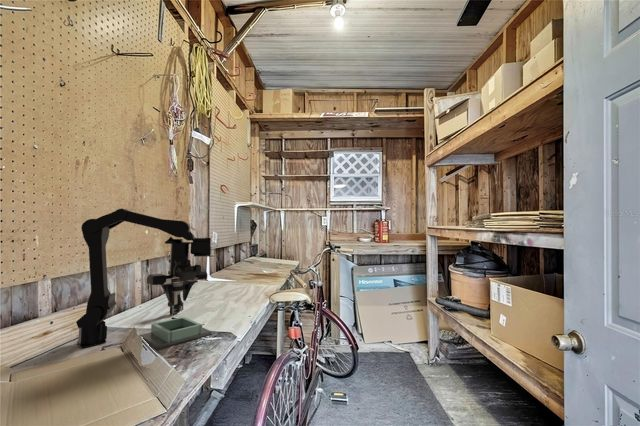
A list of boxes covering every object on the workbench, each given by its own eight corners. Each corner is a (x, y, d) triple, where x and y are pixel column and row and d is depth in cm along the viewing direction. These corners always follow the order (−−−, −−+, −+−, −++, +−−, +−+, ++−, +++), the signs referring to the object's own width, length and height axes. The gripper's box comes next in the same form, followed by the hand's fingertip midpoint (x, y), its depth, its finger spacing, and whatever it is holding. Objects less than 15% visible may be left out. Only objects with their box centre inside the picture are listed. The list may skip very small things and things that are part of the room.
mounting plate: (157, 349, 92) (157, 345, 92) (139, 337, 101) (140, 334, 101) (211, 334, 106) (211, 331, 106) (191, 325, 115) (191, 322, 115)
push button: (181, 314, 101) (181, 284, 101) (164, 315, 101) (164, 285, 101) (187, 309, 108) (187, 281, 108) (172, 309, 107) (172, 281, 108)
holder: (168, 342, 95) (168, 332, 95) (150, 332, 104) (151, 323, 104) (202, 333, 104) (202, 324, 104) (183, 325, 112) (184, 316, 113)
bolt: (182, 314, 129) (183, 279, 130) (170, 316, 126) (171, 280, 127) (176, 311, 133) (178, 277, 134) (164, 313, 130) (166, 278, 131)
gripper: (161, 260, 93) (158, 311, 92) (216, 257, 107) (214, 301, 106) (147, 257, 100) (144, 305, 99) (200, 254, 114) (198, 296, 113)
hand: (177, 302), depth 104 cm, fingers closed on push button, 4 cm apart
